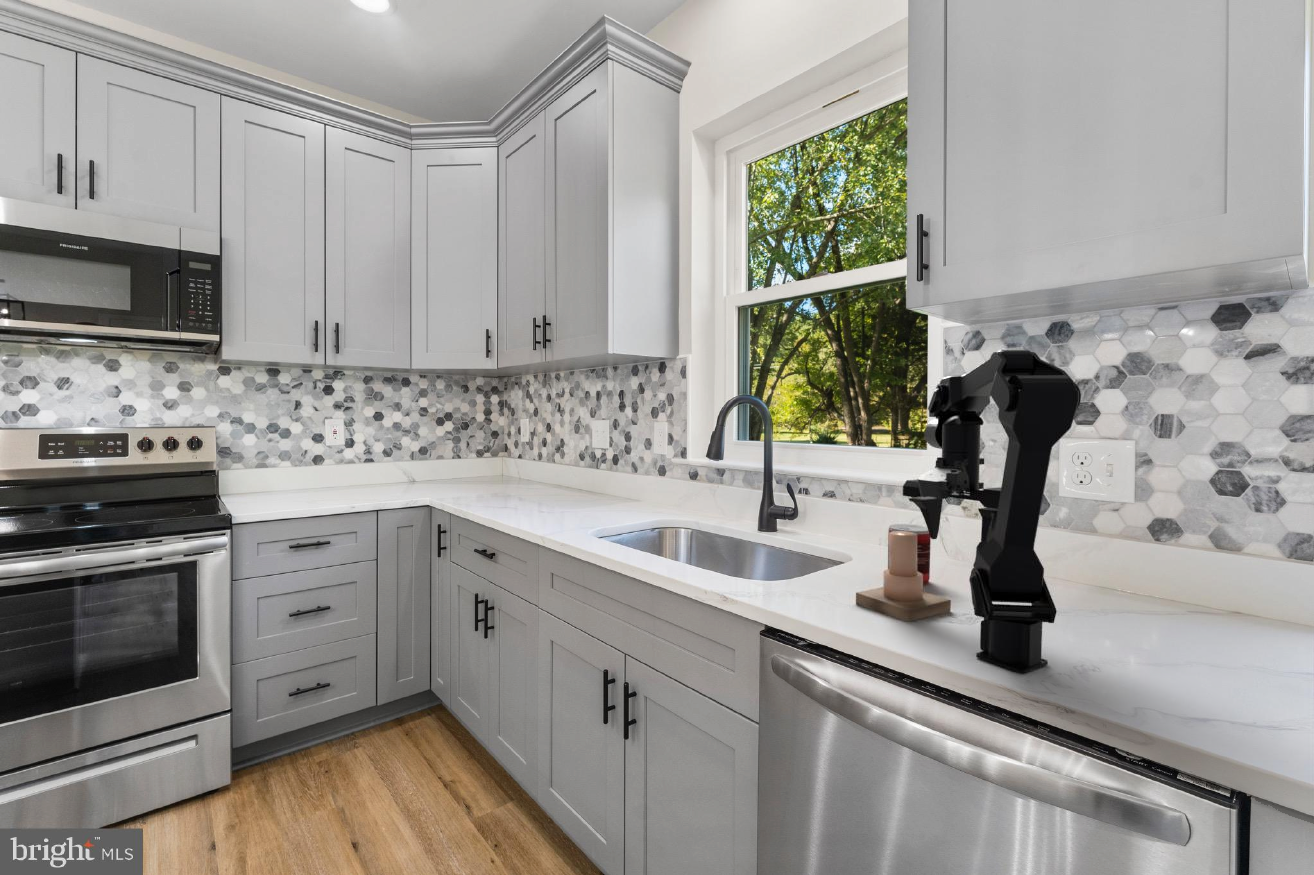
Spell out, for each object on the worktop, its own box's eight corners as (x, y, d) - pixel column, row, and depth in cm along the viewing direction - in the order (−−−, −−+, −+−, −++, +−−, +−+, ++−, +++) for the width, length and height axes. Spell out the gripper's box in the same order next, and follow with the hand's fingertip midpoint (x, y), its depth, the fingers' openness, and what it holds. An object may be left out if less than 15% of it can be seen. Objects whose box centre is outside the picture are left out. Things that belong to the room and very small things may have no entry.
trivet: (950, 611, 104) (950, 599, 104) (908, 621, 99) (908, 609, 99) (896, 594, 114) (896, 584, 114) (855, 603, 108) (855, 592, 108)
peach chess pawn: (930, 597, 105) (930, 534, 105) (907, 604, 102) (907, 539, 101) (898, 588, 110) (898, 528, 110) (875, 594, 107) (875, 533, 107)
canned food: (891, 573, 129) (892, 522, 129) (931, 579, 125) (933, 526, 125) (884, 582, 123) (885, 528, 122) (926, 588, 118) (928, 532, 118)
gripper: (882, 450, 106) (880, 538, 106) (985, 456, 90) (983, 561, 90) (923, 448, 111) (921, 532, 112) (1028, 454, 95) (1025, 553, 96)
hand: (958, 543), depth 102 cm, fingers open, 9 cm apart
